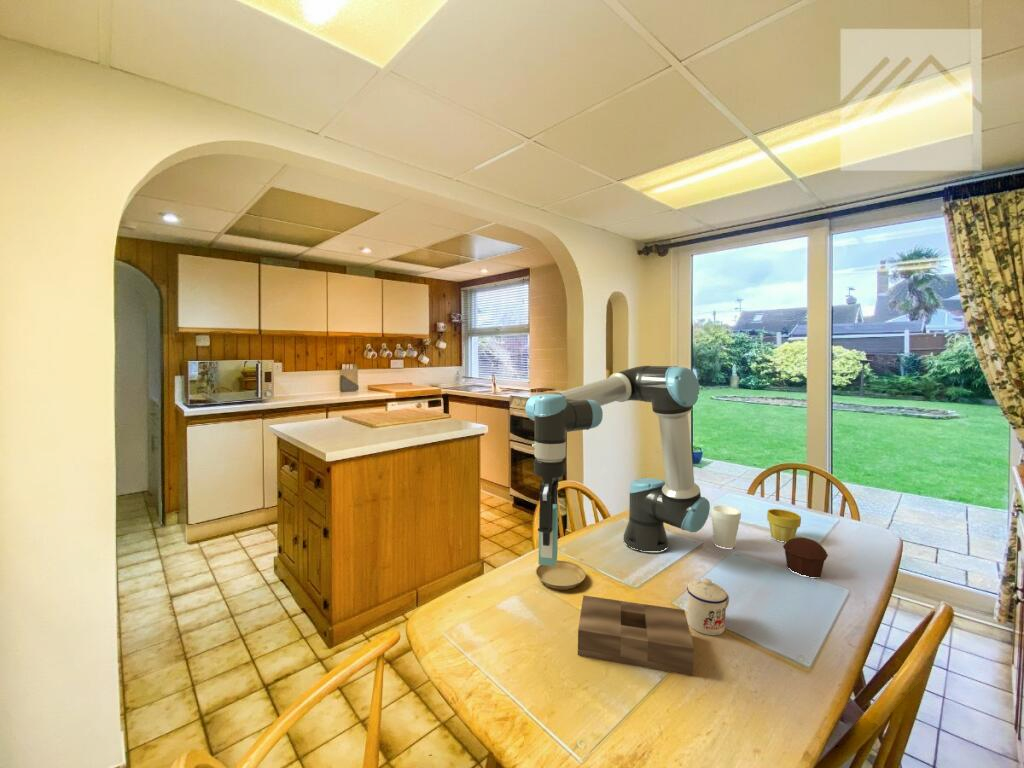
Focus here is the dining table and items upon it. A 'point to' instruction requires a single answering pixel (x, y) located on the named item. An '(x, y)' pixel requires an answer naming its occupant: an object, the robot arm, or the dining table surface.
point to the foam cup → (725, 525)
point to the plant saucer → (561, 575)
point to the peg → (553, 560)
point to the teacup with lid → (706, 607)
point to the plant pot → (783, 524)
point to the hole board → (636, 635)
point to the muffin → (805, 556)
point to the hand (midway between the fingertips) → (548, 552)
